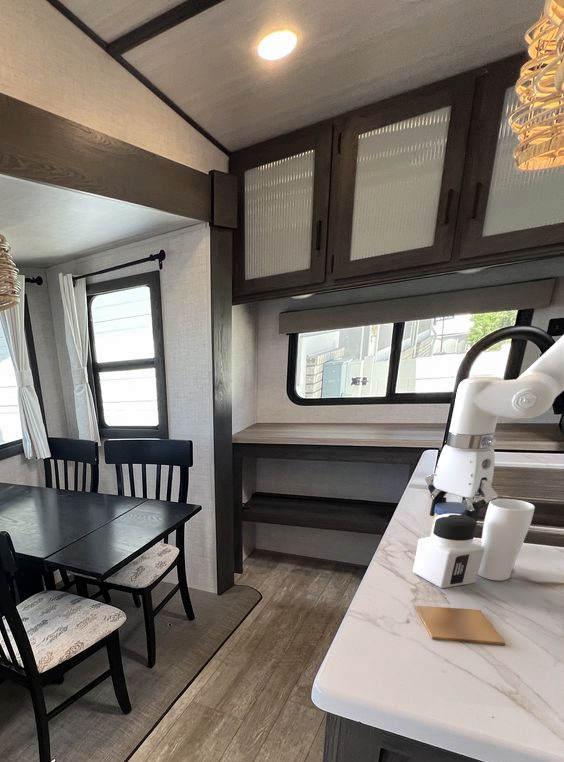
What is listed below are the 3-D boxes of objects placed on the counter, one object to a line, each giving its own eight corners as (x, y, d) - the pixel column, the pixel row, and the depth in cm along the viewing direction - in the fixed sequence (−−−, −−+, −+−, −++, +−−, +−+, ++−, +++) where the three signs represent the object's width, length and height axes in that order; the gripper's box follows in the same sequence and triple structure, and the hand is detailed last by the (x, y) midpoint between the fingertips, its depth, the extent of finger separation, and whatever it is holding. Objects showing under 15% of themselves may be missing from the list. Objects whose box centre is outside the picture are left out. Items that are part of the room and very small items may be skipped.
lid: (466, 507, 105) (467, 501, 104) (478, 518, 99) (480, 512, 98) (429, 507, 107) (431, 501, 106) (439, 518, 101) (441, 511, 100)
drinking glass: (476, 565, 97) (493, 496, 91) (517, 574, 93) (538, 502, 86) (467, 577, 93) (484, 506, 87) (509, 587, 89) (531, 512, 82)
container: (476, 583, 91) (493, 520, 86) (441, 589, 90) (455, 526, 85) (444, 566, 98) (457, 508, 93) (411, 572, 97) (422, 513, 92)
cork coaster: (480, 612, 82) (480, 609, 82) (504, 645, 73) (505, 642, 73) (415, 607, 85) (415, 605, 85) (431, 639, 76) (432, 636, 76)
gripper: (526, 445, 89) (503, 531, 96) (448, 432, 105) (433, 506, 112) (494, 450, 88) (473, 537, 95) (419, 436, 104) (406, 511, 111)
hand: (451, 520), depth 104 cm, fingers open, 7 cm apart
